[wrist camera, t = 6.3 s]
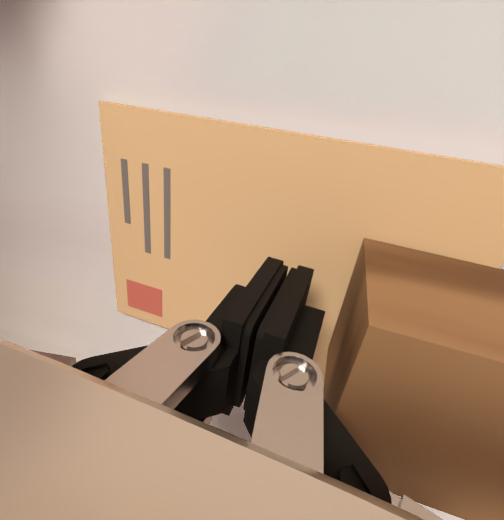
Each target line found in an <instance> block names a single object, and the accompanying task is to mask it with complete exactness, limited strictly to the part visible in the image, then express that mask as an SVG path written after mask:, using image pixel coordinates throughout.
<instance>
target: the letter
mask: <svg viewBox="0 0 504 520" xmlns="http://www.w3.org/2000/svg"><path fill="white" fill-rule="evenodd" d="M99 110H100V121H101V132H102V143H103V154H104V165H105V176H106V187H107V198H108V209H109V220H110V231H111V242H112V253H113V264H114V275H115V286H116V297H117V308H118V311H119V312H122V313H124V314H127V315H130V316H133V317H136V318H139V319H142V320H145V321H148V322H150V323H153V324H156V325H159V326H162V327H165V328H168V329H170V328H171V327H173V326H174V325H176V324H178V323H179V322H182V321H186V320H203V321H206V320H207V319H208V317H209V316H210V315H211V314H212V312H213V311H214V310H215V309H216V308H217V306H218V305H219V304H220V303H221V301H222V300H223V299H224V298H225V296H226V295H227V294H228V293H229V291H230V290H231V289H232V288H233V286H235V285H236V284H238V285H242V286H245V287H246V286H247V284H248V283H249V282H250V280H251V279H252V278H253V276H254V275H255V274H256V272H257V271H258V270H259V268H260V267H261V266H262V264H263V263H264V261H265V260H266V259H267V257H272V258H275V259H279V260H283V261H284V264H283V265H286V266H288V272H287V275H288V273H289V271H290V269H291V268H292V267H293V268H296V269H297V267H298V265H301V266H304V267H308V268H311V269H314V273H313V277H312V281H311V285H310V289H309V293H308V297H307V301H306V305H307V306H310V307H313V308H317V309H320V310H323V311H325V315H324V319H323V323H322V327H321V330H320V334H319V338H318V342H317V345H316V349H315V353H314V357H313V361H314V362H315V363H316V364H317V365H318V366H319V368H320V370H321V371H322V374H323V382H324V380H325V371H326V362H327V353H328V347H329V344H330V341H331V337H332V334H333V331H334V328H335V325H336V322H337V319H338V316H339V313H340V310H341V307H342V304H343V301H344V297H345V294H346V291H347V288H348V285H349V282H350V279H351V276H352V273H353V270H354V267H355V264H356V261H357V257H358V254H359V251H360V248H361V245H362V242H363V239H364V238H367V239H372V240H376V241H381V242H385V243H389V244H394V245H398V246H402V247H407V248H411V249H415V250H420V251H424V252H429V253H433V254H437V255H442V256H446V257H450V258H455V259H459V260H463V261H468V262H472V263H477V264H481V265H485V266H490V267H494V268H498V269H500V267H501V265H502V263H503V262H504V166H500V165H494V164H488V163H482V162H476V161H469V160H463V159H457V158H451V157H445V156H439V155H432V154H426V153H420V152H414V151H408V150H401V149H395V148H389V147H383V146H377V145H371V144H364V143H358V142H352V141H346V140H340V139H333V138H327V137H321V136H315V135H309V134H303V133H296V132H290V131H284V130H278V129H272V128H265V127H259V126H253V125H247V124H241V123H235V122H228V121H222V120H216V119H210V118H204V117H197V116H191V115H185V114H179V113H173V112H167V111H160V110H154V109H148V108H142V107H136V106H129V105H123V104H117V103H111V102H105V101H99ZM286 277H287V276H286Z"/></svg>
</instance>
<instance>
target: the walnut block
mask: <svg viewBox="0 0 504 520" xmlns="http://www.w3.org/2000/svg"><path fill="white" fill-rule="evenodd" d="M323 398H324V400H325V401H326V402H327V404H328V405H329V406H330V408H331V409H332V410H333V412H334V413H335V414H336V416H337V417H338V418H339V420H340V421H341V422H342V424H343V425H344V426H345V428H346V429H347V431H348V432H349V433H350V435H351V436H352V437H353V439H354V440H355V441H356V443H357V444H358V445H359V447H360V448H361V449H362V451H363V452H364V453H365V455H366V456H367V457H368V459H369V460H370V461H371V463H372V464H373V465H374V467H375V468H376V469H377V471H378V472H379V473H380V475H381V476H382V478H383V480H384V481H385V483H386V485H387V486H388V489H389V491H390V492H392V493H393V494H396V495H398V496H401V497H402V496H403V495H406V496H407V497H409V498H410V499H412V500H413V501H415V502H418V503H420V504H423V505H426V506H429V507H432V508H434V509H437V510H440V511H443V512H445V513H448V514H451V515H454V516H457V517H459V518H462V519H465V520H504V270H503V269H498V268H494V267H490V266H485V265H481V264H477V263H472V262H468V261H463V260H459V259H455V258H450V257H446V256H442V255H437V254H433V253H429V252H424V251H420V250H415V249H411V248H407V247H402V246H398V245H394V244H389V243H385V242H381V241H376V240H372V239H367V238H364V239H363V242H362V245H361V248H360V251H359V254H358V257H357V261H356V264H355V267H354V270H353V273H352V276H351V279H350V282H349V285H348V288H347V291H346V294H345V297H344V301H343V304H342V307H341V310H340V313H339V316H338V319H337V322H336V325H335V328H334V331H333V334H332V337H331V341H330V344H329V347H328V353H327V362H326V371H325V380H324V388H323Z"/></svg>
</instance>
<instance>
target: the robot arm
mask: <svg viewBox="0 0 504 520" xmlns="http://www.w3.org/2000/svg"><path fill="white" fill-rule="evenodd" d="M283 264H284V261H283V260H279V259H275V258H272V257H267V259H266V260H265V261H264V263H263V264H262V266H261V267H260V268H259V270H258V271H257V272H256V274H255V275H254V276H253V278H252V279H251V280H250V282H249V283H248V284H247V286H246V287H245V286H242V285H238V284H236V285H235V286H233V288H232V289H231V290H230V291H229V293H228V294H227V295H226V296H225V298H224V299H223V300H222V301H221V303H220V304H219V305H218V306H217V308H216V309H215V310H214V311H213V312H212V314H211V315H210V316H209V317H208V319H207V320H206V321H203V320H186V321H182V322H179V323H178V324H176V325H174V326H173V327H171V328H170V329H169V330H168V331H166V332H165V333H164V334H163V335H161V336H160V337H159V338H157V339H156V340H155V341H154V342H152V343H151V344H150V345H148V346H143V347H138V348H133V349H128V350H124V351H119V352H114V353H109V354H104V355H99V356H94V357H90V358H87V359H83V360H81V361H79V362H76V358H73V357H68V356H62V355H56V354H50V353H45V352H39V351H33V350H28V349H26V348H23V347H21V346H18V345H15V344H12V343H9V342H6V341H3V340H0V520H443V519H441V518H440V517H438V516H437V515H435V514H433V513H432V512H430V511H429V510H427V509H426V508H424V507H423V506H421V505H420V504H418V503H416V502H415V501H413V500H412V499H410V498H409V497H407V496H406V495H403V496H402V498H399V497H398V496H396V495H395V494H393V493H392V492H390V491H389V489H388V486H387V485H386V483H385V481H384V480H383V478H382V476H381V475H380V473H379V472H378V471H377V469H376V468H375V467H374V465H373V464H372V463H371V461H370V460H369V459H368V457H367V456H366V455H365V453H364V452H363V451H362V449H361V448H360V447H359V445H358V444H357V443H356V441H355V440H354V439H353V437H352V436H351V435H350V433H349V432H348V431H347V429H346V428H345V426H344V425H343V424H342V422H341V421H340V420H339V418H338V417H337V416H336V414H335V413H334V412H333V410H332V409H331V408H330V406H329V405H328V404H327V402H326V401H325V400H324V398H323V374H322V371H321V370H320V368H319V366H318V365H317V364H316V363H315V362H314V361H313V357H314V353H315V349H316V345H317V342H318V338H319V334H320V330H321V327H322V323H323V319H324V315H325V311H323V310H320V309H317V308H313V307H310V306H307V305H306V301H307V297H308V293H309V289H310V285H311V281H312V277H313V273H314V269H311V268H308V267H304V266H301V265H298V267H297V269H296V268H293V267H292V268H291V269H290V271H289V273H288V275H287V272H288V266H286V265H283ZM286 276H287V277H286ZM245 395H246V397H245ZM244 397H245V402H244V410H245V415H244V420H243V421H244V423H245V425H246V427H247V429H248V431H249V434H250V436H251V438H252V439H251V442H248V441H246V440H244V439H241V438H239V437H237V436H234V435H232V434H230V433H227V432H225V431H223V430H220V429H218V428H216V427H213V426H211V425H209V424H210V422H211V420H212V416H214V415H217V414H220V413H223V414H226V415H228V416H229V415H230V413H231V410H232V408H233V406H237V407H240V406H241V404H242V402H243V400H244Z"/></svg>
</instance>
